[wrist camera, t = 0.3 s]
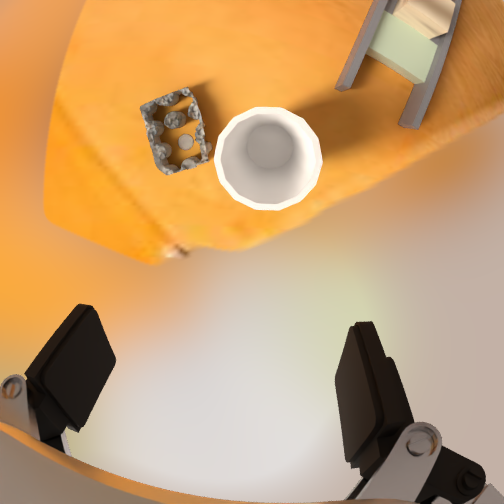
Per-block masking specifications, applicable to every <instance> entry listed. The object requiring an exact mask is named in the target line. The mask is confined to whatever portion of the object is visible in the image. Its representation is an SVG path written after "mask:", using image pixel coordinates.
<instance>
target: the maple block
mask: <svg viewBox="0 0 504 504" xmlns="http://www.w3.org/2000/svg"><path fill="white" fill-rule="evenodd" d="M454 8H455V3H454V2H453V1H451V0H398V1H397V4H396V6H395V9H394V11H393V14H392V15H393V16H395V17H397V18H398V19H400V20H402V21H403V22H405V23H406V24H408V25H409V26H411V27H412V28H414V29H415V30H417V31H418V32H420V33H421V34H423V35H424V36H425V37H427V38H428V39H431V38H434V37H436V36H439V35H442V34H444V33H447V32H448V30H449V26H450V23H451V19H452V16H453V12H454Z"/></svg>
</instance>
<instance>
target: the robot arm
mask: <svg viewBox="0 0 504 504" xmlns="http://www.w3.org/2000/svg"><path fill="white" fill-rule="evenodd" d="M115 363H116V358H115V355H114V353H113V350H112V348H111V346H110V344H109V341H108V339H107V336H106V334H105V332H104V329H103V326H102V324H101V321H100V319H99V316H98V313H97V311H96V310H94V308H93V306H91V305H85V304H78V305H77V306H76V307H75V308H74V309H73V310H72V312H71V313H70V314H69V315H68V316H67V318H66V319H65V320H64V321H63V323H62V324H61V325H60V327H59V328H58V329H57V330H56V331H55V333H54V334H53V335H52V337H51V338H50V339H49V340H48V342H47V343H46V344H45V346H44V347H43V348H42V350H41V351H40V352H39V354H38V355H37V356H36V358H35V359H34V361H33V362H32V363H31V365H30V366H29V368H28V369H27V370H26V372H25V373H24V374H25V375H26V377H27V380H25V379H24V378H23V377H22V376H21V375H17V374H16V375H11V376H9V377H7V378H6V379H5V380H4V381H3V382H2V384H1V386H0V504H504V497H503V496H502V495H501V494H500V493H499V492H498V491H497V490H496V489H495V488H494V486H493V485H492V484H488V485H487V484H486V483H485V482H486V475H485V472H484V470H483V468H482V467H481V466H480V465H479V464H477V463H475V462H473V461H471V460H469V459H467V458H465V457H463V456H461V455H459V454H457V453H455V452H453V451H452V450H450V449H448V448H446V447H444V446H442V437H441V435H440V432H439V431H438V430H437V429H436V427H434V426H433V425H431V424H429V423H425V422H416V423H415V422H414V419H413V415H412V412H411V409H410V406H409V403H408V400H407V397H406V394H405V391H404V388H403V385H402V382H401V379H400V376H399V374H398V371H397V368H396V365H395V362H394V360H393V359H392V358H391V357H386V355H385V353H384V350H383V347H382V344H381V342H380V339H379V336H378V334H377V331H376V328H375V326H374V324H373V322H372V321H370V322H356V323H355V325H354V326H351V327H350V328H349V332H348V335H347V339H346V342H345V346H344V349H343V353H342V356H341V359H340V363H339V366H338V369H337V372H336V375H335V386H336V394H337V400H338V407H339V414H340V421H341V429H342V436H343V445H344V453H345V460H346V462H350V463H351V469H352V468H360V475H361V476H362V478H361V479H360V480H359V482H358V483H357V485H356V486H355V487H354V488H353V490H352V491H351V492H350V493H349V495H348V496H347V497H346V498H345V499H344V500H343V501H328V502H313V503H258V502H242V501H231V500H222V499H214V498H207V497H201V496H195V495H190V494H184V493H179V492H174V491H170V490H166V489H162V488H158V487H153V486H150V485H147V484H143V483H140V482H136V481H133V480H129V479H127V478H124V477H121V476H118V475H115V474H112V473H109V472H107V471H104V470H101V469H99V468H96V467H94V466H91V465H89V464H86V463H84V462H82V461H80V460H77V459H75V458H73V457H72V456H71V452H70V449H69V445H68V442H67V438H66V434H65V428H66V426H67V427H68V428H69V429H71V430H73V431H75V432H78V433H79V431H80V429H81V427H84V425H85V423H86V422H87V419H88V417H89V415H90V413H91V411H92V409H93V407H94V405H95V403H96V401H97V399H98V397H99V395H100V393H101V391H102V389H103V387H104V385H105V383H106V381H107V379H108V377H109V375H110V374H111V372H112V370H113V368H114V366H115Z"/></svg>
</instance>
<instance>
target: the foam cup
mask: <svg viewBox="0 0 504 504" xmlns="http://www.w3.org/2000/svg"><path fill="white" fill-rule="evenodd" d="M214 163H215V166H216V170H217V174H218V178H219V182H220V183H221V184H222V185H223V186H224V188H225V189H226V190H227V191H228V192H229V194H230V195H231V196H232V197H233V198H234V200H236V201H239V202H241V203H243V204H245V205H247V206H249V207H251V208H253V209H255V210H281V209H283V208H286V207H288V206H291V205H293V204H295V203H298V202H300V201H301V200H302V199H303V198H304V197H305V196H306V195H307V194H308V193H309V192H310V190H311V189H312V188H313V187H314V186H315V185H316V183H317V180H318V176H319V173H320V170H321V166H322V163H323V161H322V155H321V149H320V144H319V139H318V137H317V136H316V135H315V133H314V132H313V131H312V129H311V128H310V127H309V125H308V124H307V123H306V121H305V120H304V119H303V118H301V117H299V116H297V115H295V114H293V113H291V112H289V111H287V110H285V109H283V108H280V107H255V108H253V109H251V110H248V111H246V112H244V113H242V114H240V115H238V116H236V117H234V118H233V119H232V120H231V121H230V122H229V124H228V125H227V126H226V127H225V129H224V130H223V131H222V132H221V134H220V135H219V136H218V141H217V146H216V150H215V155H214Z"/></svg>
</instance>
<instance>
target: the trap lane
mask: <svg viewBox="0 0 504 504" xmlns="http://www.w3.org/2000/svg"><path fill="white" fill-rule="evenodd" d="M397 1H398V0H373V3H372V5H371V7H370V9H369V12H368V14H367V16H366V19H365V21H364V23H363V25H362V28H361V30H360V32H359V34H358V37H357V39H356V41H355V43H354V46H353V48H352V50H351V52H350V55H349V57H348V59H347V61H346V64H345V66H344V68H343V70H342V73H341V75H340V77H339V79H338V82H337V84H336V86H335V89H337V90H339V91H341V92H342V91H344V90H347V89H350V88H351V85H352V83H353V81H354V79H355V76H356V74H357V72H358V70H359V67H360V65H361V63H362V60H363V58H364V56H365V53H366V51H367V49H368V47H369V44H370V42H371V40H372V37H373V35H374V32H375V30H376V28H377V25H378V23H379V21H380V18H381V16H382V13H383V11H384V10H385V11H387V12H388V13H390V14H393V11H394V9H395V6H396V4H397ZM451 1H453V2H454V3H455V8H454V12H453V16H452V19H451V23H450V26H449V30H448V32H447V33H444V34H442V35H439V36H436V37H434V38H431V39H430V40H431V41H432V42H434V43H435V44H436V45H438V46H437V49H436V52H435V55H434V58H433V61H432V64H431V66H430V69H429V72H428V74H427V77H426V80H425V82H424V83H419V84H414V87H413V89H412V92H411V94H410V97H409V99H408V102H407V104H406V106H405V109H404V111H403V113H402V116H401V118H400V120H399V123H398V124H399V125H400V126H402V127H403V128H410V129H417V130H418V129H419V126H420V124H421V122H422V119H423V117H424V115H425V112H426V110H427V107H428V105H429V102H430V100H431V97H432V94H433V92H434V89H435V87H436V84H437V81H438V78H439V76H440V73H441V70H442V67H443V64H444V61H445V58H446V55H447V52H448V49H449V46H450V42H451V39H452V36H453V32H454V29H455V25H456V21H457V18H458V14H459V10H460V6H461V1H462V0H451Z"/></svg>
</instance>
